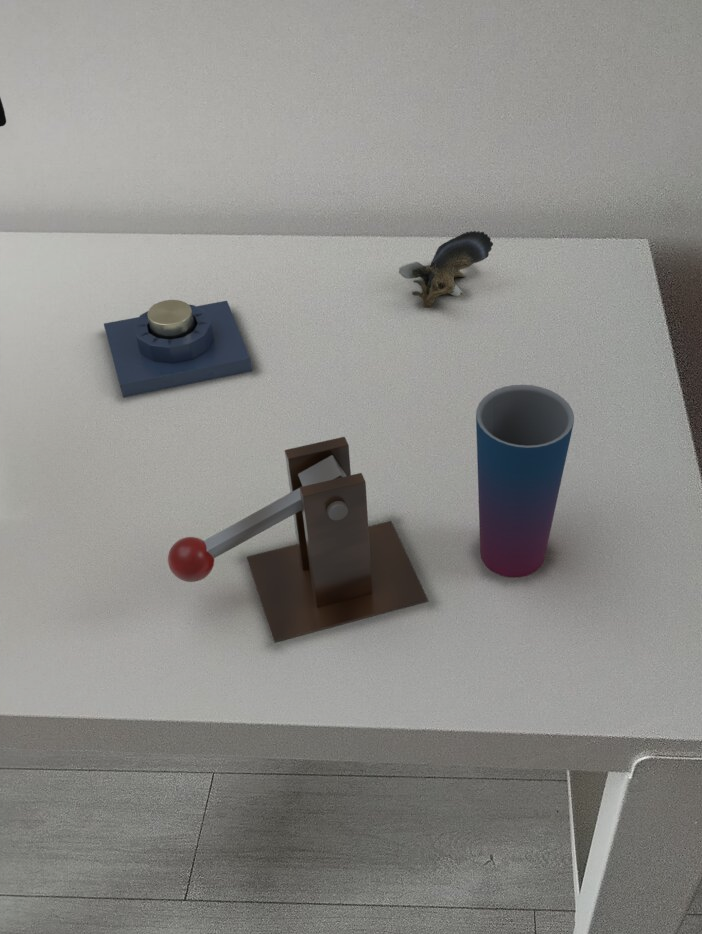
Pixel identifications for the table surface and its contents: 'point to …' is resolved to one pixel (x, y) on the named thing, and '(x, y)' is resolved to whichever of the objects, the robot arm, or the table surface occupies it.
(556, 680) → the table surface
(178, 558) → the lever
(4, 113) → the robot arm
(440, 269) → the brown squirrel toy
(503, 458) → the cup
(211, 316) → the box
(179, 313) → the button
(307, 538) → the bracket
